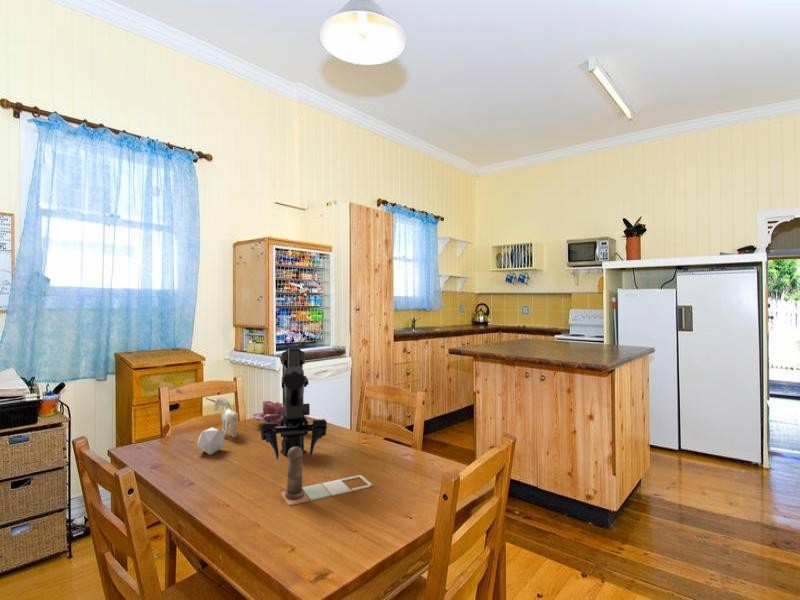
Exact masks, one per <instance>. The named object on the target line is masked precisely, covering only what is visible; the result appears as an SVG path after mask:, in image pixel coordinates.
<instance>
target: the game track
mask: <svg viewBox="0 0 800 600" xmlns="http://www.w3.org/2000/svg"><path fill="white" fill-rule="evenodd" d="M354 479H361V480H362V481H363V483H366V484H365V485H362V486H357V487H352V488H351V489H350V487H348V485H347V484H346V483H345V481H349V480H354ZM373 486H374V485H373V484H372V483H371V482H370V481H369V480H368V479H366V477H364V476H363V475H361V474H358V475H354V476H350V477H349V476H348V477H345V478H340V479H335V480H331V481H327V482H326V481H324V482H320V483H315V484H310V485H307V486H302V488H303V489H304V496H303V497H302V498H300V499H296V500H289V499H287V498H286V497H285V491H286V490H285V491H284V490H283V491H280V495H281V497H282V498H283V500H284V501H285V503H286V505H287V506H288V507H290V506H294V505H298V504H302V503H307V502H312V501H316V500H319V499H324V498H328V497H331V496H332V497H333V496H338V495H341V494H346V493H350V492H354V491H359V490H364V489H367V488H372V487H373Z"/></svg>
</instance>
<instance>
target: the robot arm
mask: <svg viewBox="0 0 800 600" xmlns="http://www.w3.org/2000/svg"><path fill="white" fill-rule="evenodd" d="M305 363H306V353H305V352H304V351H303V350H301V348H299V347H294V348H293V347H291V348H290V347H289V348H287V349H286V350H285V351H283V352H282V353H281V366H283V373H284V375H283V376H281V389H283V391H284V406H285V409H284V412H283V419H281V426H280V427H278V426H276V424H275V422H269V423H268V422H263V423H262V424H261V425H260V437H261V440H262V441H265V442H266V443H269V444H270V446H271V447H272V449H273V452H274V455H275V458H276V460H279V447H278V446H279V445H278V438H277V437H278V436H277V434H278V435H279V434H280V438H282V440H281V450H280V453H281V454H283V455H285V456H287V454H288V451H289V449H290V448H292V447H295V446H297V447H299V448H301V449H302V451H303V454H305V453H307V450H306V449H305V446H304V445H305V444H304V443H305V436H307V435H309V432H311V439H310V441H311V442H310V450H309V455H310V456H309V457H312V456H313V453H314V449H315V447H316V445H317V442H318V440H320V439H322V437H325V436H326V435H327V429H328V426H327V425H328V423H327V420H326V419H324V418H321V419H320V418H319V419H313V420H312V424H311V423H310V424H309V421H308V420H307V417H305V416H310V414H311V413H310V410H311V408H310V407H311V406H310V403H304V395H305V388H306V387H307V386H309V379H308V377H307V375H305V373H304V372H305V371H304V366H303V365H305Z"/></svg>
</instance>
